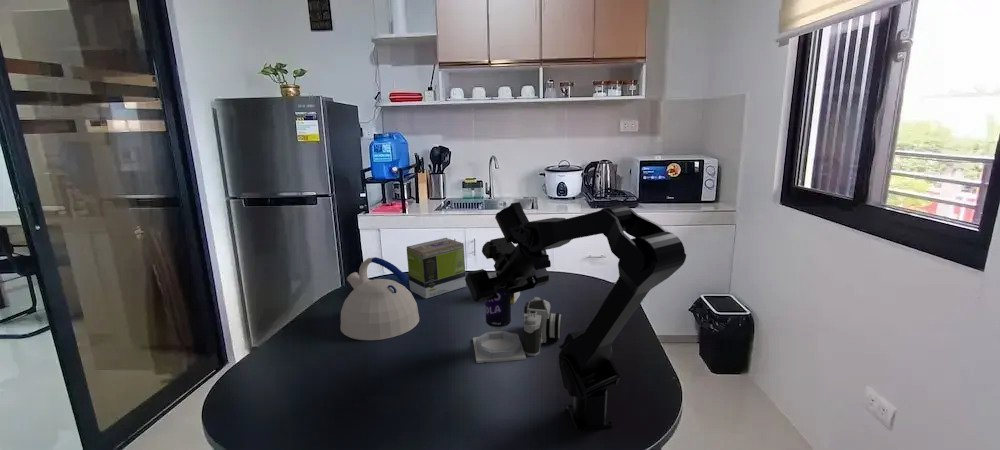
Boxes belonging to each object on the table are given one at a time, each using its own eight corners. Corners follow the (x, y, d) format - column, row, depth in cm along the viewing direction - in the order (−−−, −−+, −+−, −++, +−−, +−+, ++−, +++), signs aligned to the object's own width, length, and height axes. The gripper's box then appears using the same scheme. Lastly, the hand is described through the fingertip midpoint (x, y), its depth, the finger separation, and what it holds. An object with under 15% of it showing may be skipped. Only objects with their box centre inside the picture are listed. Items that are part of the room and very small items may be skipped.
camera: (558, 358, 102) (558, 317, 100) (519, 355, 104) (519, 314, 101) (561, 327, 117) (562, 290, 115) (528, 325, 119) (528, 288, 116)
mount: (526, 359, 102) (526, 351, 101) (476, 363, 100) (476, 355, 100) (517, 336, 112) (517, 328, 112) (472, 339, 111) (472, 332, 111)
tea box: (449, 279, 153) (447, 236, 149) (466, 287, 145) (465, 242, 142) (408, 290, 143) (405, 245, 140) (425, 300, 136) (422, 252, 132)
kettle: (379, 302, 135) (375, 243, 131) (435, 316, 125) (432, 253, 120) (322, 329, 118) (314, 262, 114) (381, 348, 108) (375, 275, 103)
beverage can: (485, 320, 107) (483, 271, 105) (509, 319, 108) (508, 270, 105) (486, 331, 102) (485, 279, 99) (512, 329, 102) (511, 278, 100)
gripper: (541, 222, 101) (513, 259, 113) (467, 235, 91) (445, 273, 103) (564, 265, 97) (533, 298, 108) (489, 283, 87) (463, 318, 98)
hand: (494, 296), depth 104 cm, fingers closed on beverage can, 6 cm apart
